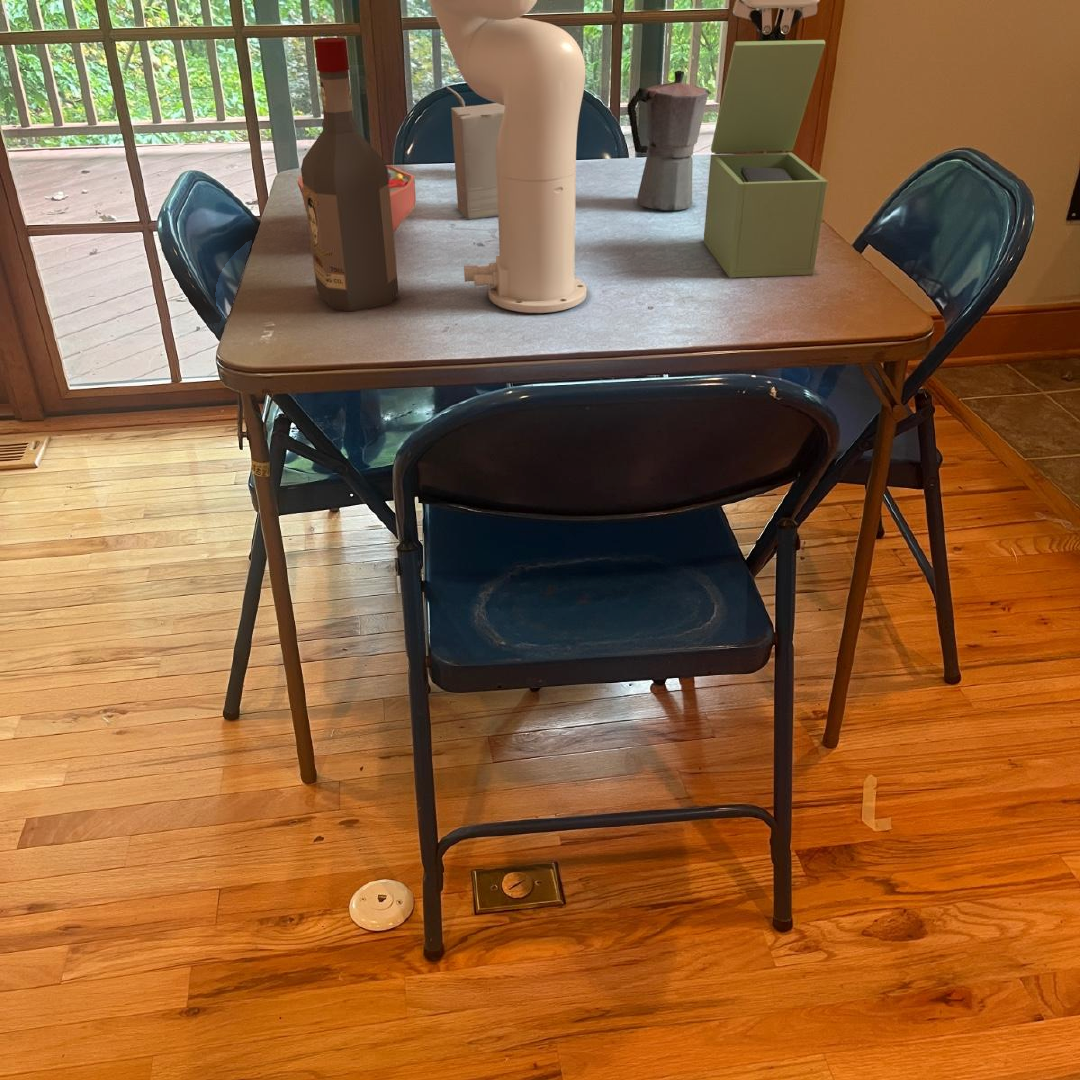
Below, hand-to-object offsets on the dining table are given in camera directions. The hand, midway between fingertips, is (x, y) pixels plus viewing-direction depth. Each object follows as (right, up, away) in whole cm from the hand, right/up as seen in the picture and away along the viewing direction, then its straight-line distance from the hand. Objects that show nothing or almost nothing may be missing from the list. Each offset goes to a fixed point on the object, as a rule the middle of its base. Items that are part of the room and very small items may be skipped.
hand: (768, 66), depth 131 cm
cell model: (-57, -16, +20) cm, 62 cm away
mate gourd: (-41, +3, +48) cm, 63 cm away
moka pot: (-10, -8, +32) cm, 34 cm away
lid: (0, -4, +2) cm, 4 cm away
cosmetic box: (-39, -10, +29) cm, 49 cm away
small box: (+1, -22, +9) cm, 24 cm away
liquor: (-53, -31, -2) cm, 62 cm away
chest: (+1, -22, +10) cm, 24 cm away
